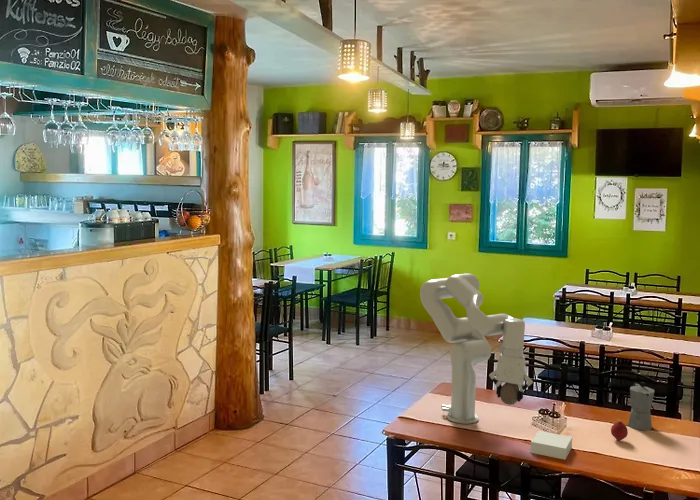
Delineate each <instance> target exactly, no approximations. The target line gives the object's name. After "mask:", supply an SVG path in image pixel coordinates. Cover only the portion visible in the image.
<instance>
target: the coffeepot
mask: <svg viewBox="0 0 700 500" xmlns="http://www.w3.org/2000/svg"><path fill="white" fill-rule="evenodd" d="M645 384H646V382H644V381H641V382H640V384H639V383H638V382H634V383H633V384H632V386H630V388H629V394H630V404H631V410H630V413H629V418H628V422H627V427H629V428H631V429H633V430H638V431H646V432H647V431H650V430H652V428H653V423H652V415H651V408H652V403H653V400H654V396H655V389H654V388H651V387H648V386H645Z"/></svg>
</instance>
